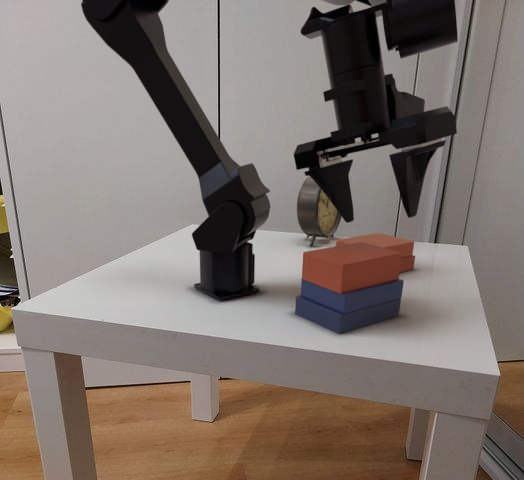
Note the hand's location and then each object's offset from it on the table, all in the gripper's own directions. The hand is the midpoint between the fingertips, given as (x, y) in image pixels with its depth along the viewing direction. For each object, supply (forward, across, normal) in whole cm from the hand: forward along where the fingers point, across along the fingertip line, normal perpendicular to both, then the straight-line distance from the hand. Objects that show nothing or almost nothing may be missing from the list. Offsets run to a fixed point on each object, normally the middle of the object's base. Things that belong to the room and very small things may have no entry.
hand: (379, 219), depth 61 cm
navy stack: (+10, +2, +6) cm, 12 cm away
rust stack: (+10, +14, -13) cm, 21 cm away
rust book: (+6, +1, +5) cm, 8 cm away
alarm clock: (+7, +32, -19) cm, 38 cm away
